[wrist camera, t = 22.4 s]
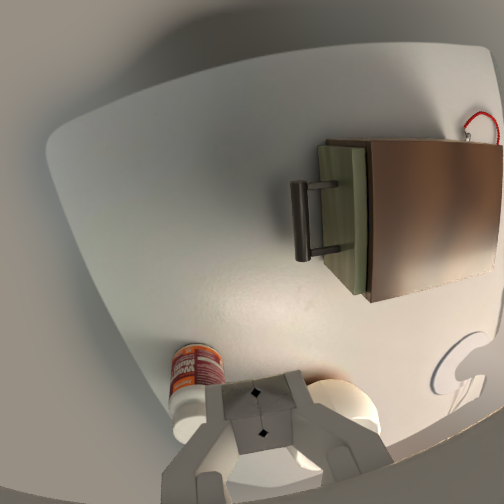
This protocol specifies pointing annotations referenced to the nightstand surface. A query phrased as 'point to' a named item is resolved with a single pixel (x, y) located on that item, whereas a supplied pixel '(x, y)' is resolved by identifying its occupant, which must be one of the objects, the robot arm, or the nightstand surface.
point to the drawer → (337, 215)
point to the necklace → (473, 118)
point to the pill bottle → (192, 387)
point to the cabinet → (429, 211)
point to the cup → (340, 409)
